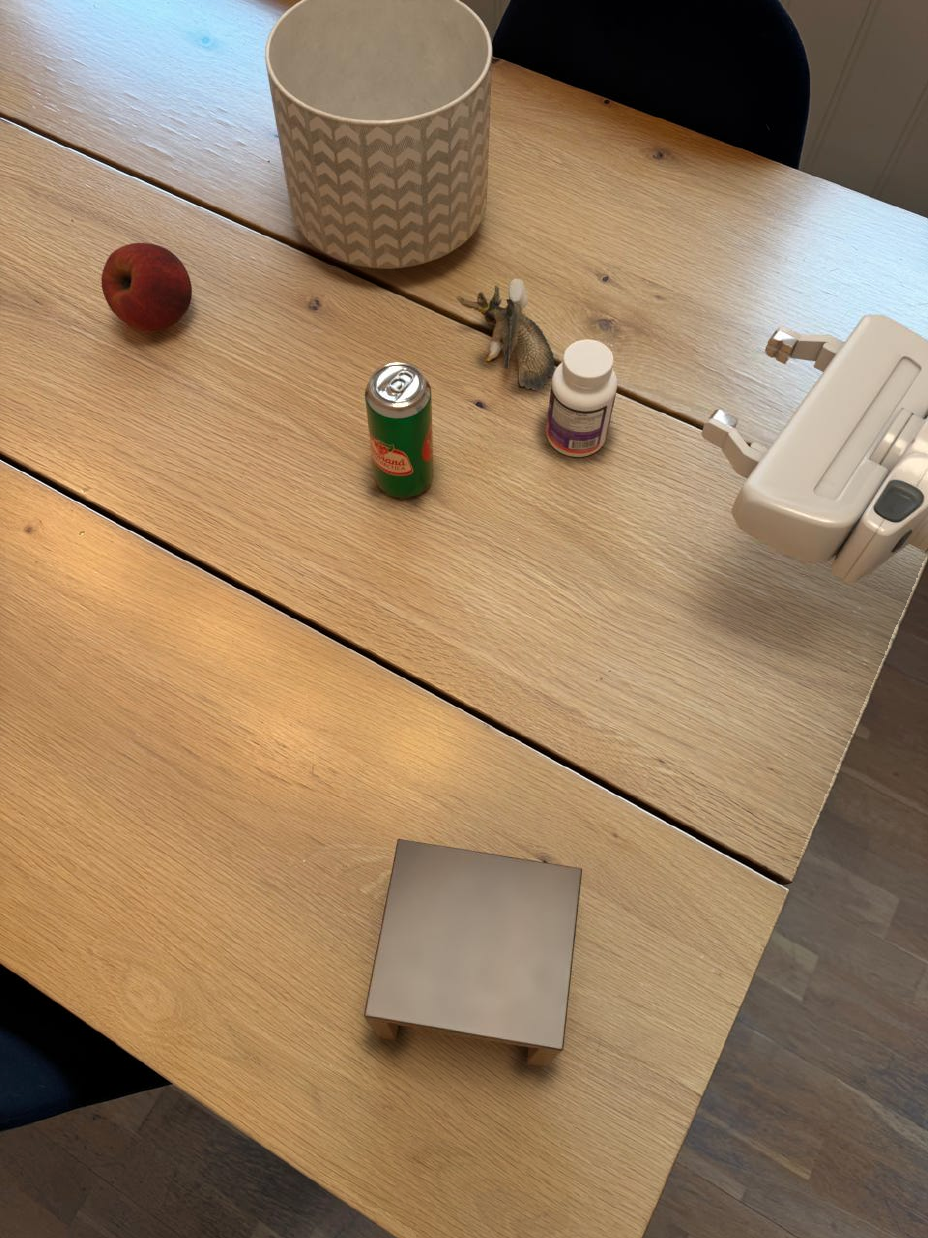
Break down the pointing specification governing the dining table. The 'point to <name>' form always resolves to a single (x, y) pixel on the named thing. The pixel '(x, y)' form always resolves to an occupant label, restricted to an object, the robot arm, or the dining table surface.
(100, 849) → the dining table surface
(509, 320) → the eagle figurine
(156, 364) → the dining table surface
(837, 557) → the robot arm
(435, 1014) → the small side table
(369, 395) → the soda can
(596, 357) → the pill bottle
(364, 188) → the planter
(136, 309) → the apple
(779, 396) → the dining table surface
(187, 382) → the dining table surface
